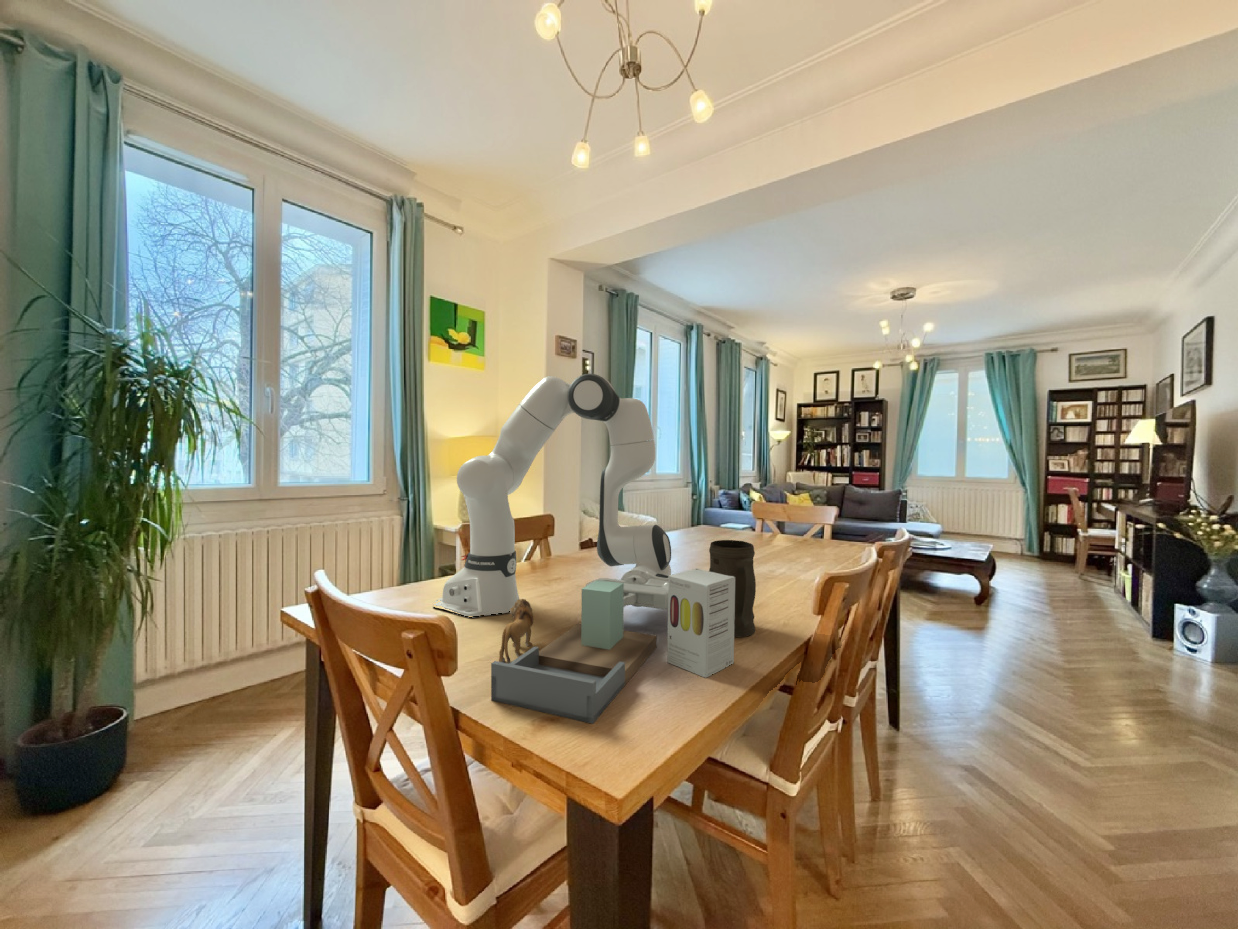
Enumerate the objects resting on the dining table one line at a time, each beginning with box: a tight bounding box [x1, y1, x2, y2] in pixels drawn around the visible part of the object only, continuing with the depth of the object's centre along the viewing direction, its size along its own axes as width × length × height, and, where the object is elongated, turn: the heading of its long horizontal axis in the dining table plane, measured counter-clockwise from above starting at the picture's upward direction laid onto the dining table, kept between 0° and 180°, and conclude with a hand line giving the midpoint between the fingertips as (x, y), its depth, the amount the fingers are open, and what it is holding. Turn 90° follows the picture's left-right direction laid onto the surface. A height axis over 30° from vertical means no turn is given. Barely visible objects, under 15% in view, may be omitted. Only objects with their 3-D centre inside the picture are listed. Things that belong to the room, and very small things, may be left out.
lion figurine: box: [498, 598, 534, 664], centre depth 99 cm, size 15×5×9 cm, turn 1°
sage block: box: [580, 579, 624, 650], centre depth 99 cm, size 6×7×11 cm
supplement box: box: [666, 568, 735, 678], centre depth 94 cm, size 10×9×17 cm
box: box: [490, 646, 626, 724], centre depth 82 cm, size 18×13×6 cm
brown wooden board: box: [539, 623, 658, 686], centre depth 97 cm, size 18×18×2 cm
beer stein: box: [708, 539, 757, 638], centre depth 110 cm, size 15×11×20 cm
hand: (616, 602), depth 105 cm, fingers closed
